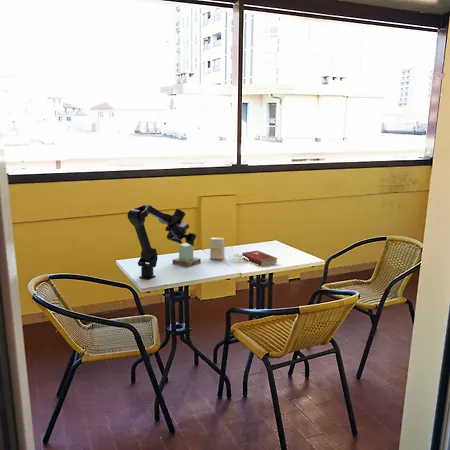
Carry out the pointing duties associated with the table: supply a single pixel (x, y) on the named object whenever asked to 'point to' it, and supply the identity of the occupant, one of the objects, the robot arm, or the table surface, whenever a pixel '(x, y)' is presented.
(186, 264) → the walnut block
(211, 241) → the supplement box
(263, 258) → the hardcover book
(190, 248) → the sage block
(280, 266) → the table surface
